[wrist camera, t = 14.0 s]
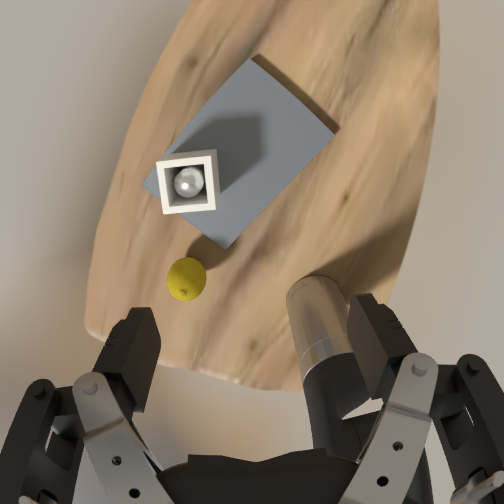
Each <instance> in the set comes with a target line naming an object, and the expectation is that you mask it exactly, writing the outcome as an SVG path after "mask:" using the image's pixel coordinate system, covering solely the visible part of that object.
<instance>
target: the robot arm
mask: <svg viewBox="0 0 504 504" xmlns="http://www.w3.org/2000/svg"><path fill="white" fill-rule="evenodd" d="M286 305H287V310H288V315H289V320H290V325H291V330H292V334H293V339H294V344H295V349H296V354H297V359H298V364H299V369H300V374H301V379H302V384H303V389H304V393H305V398H306V402H307V406H308V412H309V418H310V424H311V431H312V438H313V448H314V449H311V450H304V451H295V452H290V453H288V454H284V455H281V456H278V457H274V458H271V459H268V460H264V461H260V462H251V461H246V460H240V459H235V458H230V457H225V456H220V455H219V456H218V455H190V454H189V455H188V462H186V463H182V464H178V465H175V466H172V467H170V468H168V469H166V470H163V468H162V467H161V465H160V464H159V463H158V461H157V460H156V459H155V457H154V456H153V454H152V453H151V451H150V449H149V448H148V446H147V444H146V443H145V441H144V439H143V438H142V436H141V434H140V433H139V431H138V429H137V427H136V426H135V424H134V422H133V420H132V416H133V412H141V413H144V409H145V405H146V401H147V397H148V393H149V389H150V386H151V381H152V378H153V374H154V371H155V367H156V364H157V360H158V357H159V353H160V349H161V338H160V334H159V331H158V328H157V325H156V322H155V319H154V315H153V312H152V310H151V308H150V307H133V308H131V309H130V311H129V313H128V316H127V318H126V320H120V321H119V322H118V323H117V324H116V325H115V326H114V327H113V328H112V330H111V332H110V334H109V336H108V337H109V338H107V340H106V342H105V346H104V347H103V349H102V351H101V353H100V355H99V357H98V359H97V361H96V364H95V366H94V368H93V370H92V372H89V373H85V374H83V375H81V376H80V377H79V378H78V379H77V380H76V381H75V383H74V385H73V386H68V387H61V388H56V387H55V386H54V385H53V383H52V382H51V381H50V380H47V379H39V380H36V381H34V382H33V383H32V384H31V385H30V386H29V387H28V388H27V390H26V392H25V395H24V397H23V399H22V401H21V403H20V406H19V408H18V410H17V412H16V415H15V417H14V420H13V422H12V425H11V427H10V429H9V432H8V435H7V437H6V440H5V443H4V445H3V448H2V451H1V454H0V504H72V501H73V495H74V490H75V485H76V480H77V475H78V470H79V466H80V462H81V457H82V452H83V449H84V445H85V447H86V450H87V452H88V455H89V458H90V460H91V462H92V464H93V467H94V469H95V472H96V473H97V476H98V478H99V480H100V482H101V485H102V487H103V489H104V491H105V493H106V495H107V496H108V498H109V500H110V502H111V504H434V502H433V494H432V486H431V479H430V473H429V466H428V461H427V456H426V451H425V447H424V445H425V442H426V439H427V435H428V432H429V429H430V425H431V419H432V420H433V422H434V425H435V428H436V431H437V433H438V436H439V439H440V441H441V444H442V447H443V450H444V453H445V456H446V459H447V462H448V465H449V468H450V472H451V475H452V478H453V481H454V485H455V488H456V489H455V491H454V492H453V494H452V496H451V499H450V504H504V393H503V391H502V389H501V387H500V386H499V384H498V382H497V380H496V379H495V377H494V375H493V374H492V372H491V370H490V369H489V367H488V365H487V364H486V362H485V361H484V360H483V359H482V358H480V357H479V356H477V355H474V354H466V355H463V356H462V357H460V359H459V360H458V362H457V364H456V365H438V364H437V363H436V362H435V360H434V359H433V358H432V357H430V356H428V355H426V354H424V353H419V352H418V351H417V349H416V347H415V346H414V344H413V343H412V341H411V339H410V337H409V336H408V334H407V333H406V331H405V330H404V328H402V325H401V323H400V321H398V318H397V317H396V315H395V314H394V312H393V311H392V310H391V309H389V308H388V307H387V306H386V305H384V304H378V303H377V301H376V300H375V298H374V296H373V295H372V294H371V293H365V294H357V295H353V296H352V298H351V302H350V309H349V308H348V306H347V304H346V302H345V300H344V298H343V296H342V294H341V292H340V290H339V288H338V286H337V284H336V283H335V282H334V281H333V280H332V279H330V278H328V277H325V276H319V275H315V276H309V277H306V278H303V279H301V280H299V281H298V282H297V283H295V284H294V285H293V286H292V288H291V289H290V290H289V292H288V295H287V298H286ZM370 397H371V399H372V400H374V399H379V398H382V400H383V402H384V404H383V406H382V408H381V410H379V411H376V412H372V413H368V414H364V415H360V416H356V417H353V418H348V419H344V420H342V418H343V417H344V416H345V415H347V414H348V413H350V412H351V411H352V410H354V409H356V408H357V407H359V406H360V405H362V404H363V403H365V402H366V401H367V400H368V399H369V398H370ZM466 408H467V410H468V412H469V414H470V416H471V418H472V421H473V423H472V421H471V419H470V417H469V415H468V412H467V410H466ZM473 424H474V426H473ZM51 429H52V430H53V432H52V435H51V439H50V442H49V445H48V448H47V451H45V445H46V442H47V438H48V436H49V433H50V430H51Z"/></svg>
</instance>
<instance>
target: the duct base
mask: <svg viewBox="0 0 504 504" xmlns="http://www.w3.org/2000/svg"><path fill="white" fill-rule="evenodd" d="M334 136H335V135H334V134H333V133H332V132H331V131H330V130H329V129H328V128H327V127H326V126H325V125H324V124H323V123H322V122H321V121H320V120H319V119H318V118H317V117H316V116H315V115H314V114H313V113H312V112H311V111H310V110H309V109H308V108H307V107H306V106H305V105H304V104H303V103H302V102H300V101H299V100H298V99H297V98H296V97H295V96H294V95H293V94H292V93H291V92H289V91H288V90H287V89H286V88H285V87H284V86H283V85H281V84H280V83H279V82H278V81H277V80H276V79H274V78H273V77H272V76H271V75H270V74H269V73H267V72H266V71H265V70H264V69H262V68H261V67H260V66H259V65H257V64H256V63H255V62H254V61H252V60H251V59H250V58H249V59H248V60H247V61H246V62H245V63H244V64H243V65H242V66H241V67H240V68H239V69H238V70H237V71H236V72H235V73H234V74H233V75H232V76H231V77H230V78H229V79H228V80H227V81H226V82H225V83H224V84H223V85H222V86H221V87H220V88H219V89H218V91H217V92H216V93H215V94H214V95H213V96H212V97H211V98H210V99H209V101H208V102H207V103H206V104H205V105H204V106H203V107H202V108H201V110H200V111H199V112H198V113H197V114H196V115H195V117H194V118H193V119H192V120H191V121H190V123H189V124H188V125H187V126H186V127H185V129H184V130H183V131H182V132H181V134H180V135H179V136H178V137H177V139H176V140H175V141H174V142H173V144H172V145H171V146H170V147H169V149H168V150H167V151H166V153H165V154H164V155H163V157H162V158H161V159H163V158H164V157H166V156H168V155H170V154H174V153H182V152H190V151H200V150H210V149H217V159H218V171H219V182H220V193H221V194H220V197H219V201H218V204H217V208H216V210H207V211H195V212H183V213H178V214H179V215H180V216H181V217H183V218H184V219H185V220H187V221H188V222H189V223H190V224H192V225H193V226H194V227H196V228H197V229H198V230H200V231H201V232H202V233H203V234H205V235H206V236H207V237H209V238H210V239H211V240H213V241H214V242H215V243H216V244H218V245H219V246H220V247H222V248H223V249H224V250H226V249H227V248H228V247H229V246H230V245H231V244H232V243H233V242H234V241H235V239H236V238H237V237H238V236H239V235H240V234H241V233H242V232H243V231H244V230H245V229H246V228H247V227H248V226H249V225H250V223H251V222H252V221H253V220H254V219H255V218H256V217H257V216H258V215H259V214H260V213H261V212H262V211H263V210H264V209H265V208H266V207H267V206H268V204H269V203H270V202H271V201H272V200H273V199H274V198H275V197H276V196H277V195H278V194H279V193H280V192H281V191H282V190H283V189H284V188H285V187H286V186H287V185H288V184H289V183H290V181H291V180H292V179H293V178H294V177H295V176H296V175H297V174H298V173H299V172H300V171H301V170H302V169H303V168H304V167H305V166H306V165H307V164H308V163H309V162H310V161H311V160H312V159H313V158H314V157H315V156H316V155H317V154H318V153H319V152H320V151H321V150H322V149H323V148H324V147H325V145H326V144H327V143H328V142H329V141H330V140H331V139H332V138H333V137H334ZM161 159H160V160H161ZM185 167H186V166H179V173H180V172H181V171H182V170H183V169H184V168H185ZM142 186H143V187H144V188H146V189H147V190H148V191H149V192H151V193H152V194H153V195H154V196H156V197H157V198H158V199H160V200H161V195H160V188H159V181H158V174H157V166H155V167H154V169H153V170H152V171H151V173H150V174H149V176H148V177H147V178H146V180H145V181H144V183H143V184H142ZM202 189H206V182H205V183H204V185H203V187H202Z"/></svg>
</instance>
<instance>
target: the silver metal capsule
mask: <svg viewBox="0 0 504 504" xmlns="http://www.w3.org/2000/svg"><path fill="white" fill-rule="evenodd" d="M205 182H206V180H205V170H204V164H197V165H188V166H186V167H185V168H184V169H183V170H182V171H181V172H180V173H178V174H177V176H176V177H175V180H174V187H175V190H176V191H177V193H178V194H179V195H181V196H183V197H186V198H190V197H194V196H196V195H197V194H198V193H199V192H200V190H201V189H202V187H203V185H204V183H205Z"/></svg>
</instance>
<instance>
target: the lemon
mask: <svg viewBox="0 0 504 504" xmlns="http://www.w3.org/2000/svg"><path fill="white" fill-rule="evenodd" d="M167 284H168V288H169V291H170V292H171V294H172V295H173V296H174V297H175V298H177V299H179V300H183V301H189V300H193V299H195V298H196V297H198V296H199V295H200V294H201V292H202V291H203V289H204V287H205V284H206V271H205V269H204V267H203V265H202V264H201V263H200V262H199V261H198V260H196V259H194V258H188V257H186V258H181V259H179V260H177V261H176V262H175V263H174V264H173V265H172V266H171V268H170V270H169V273H168V277H167Z"/></svg>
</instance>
